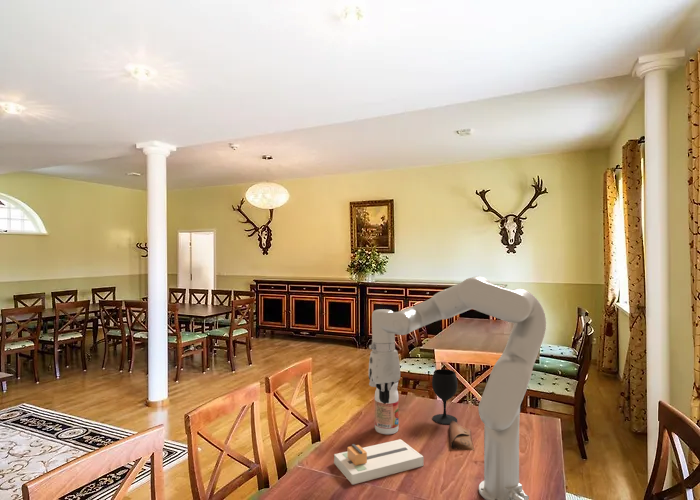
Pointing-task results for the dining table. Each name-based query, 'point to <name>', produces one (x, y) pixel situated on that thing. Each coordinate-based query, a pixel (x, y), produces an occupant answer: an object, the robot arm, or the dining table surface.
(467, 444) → the sunglasses case
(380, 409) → the fruit juice
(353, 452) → the fader knob
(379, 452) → the fader console
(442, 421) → the wine glass
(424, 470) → the dining table surface
